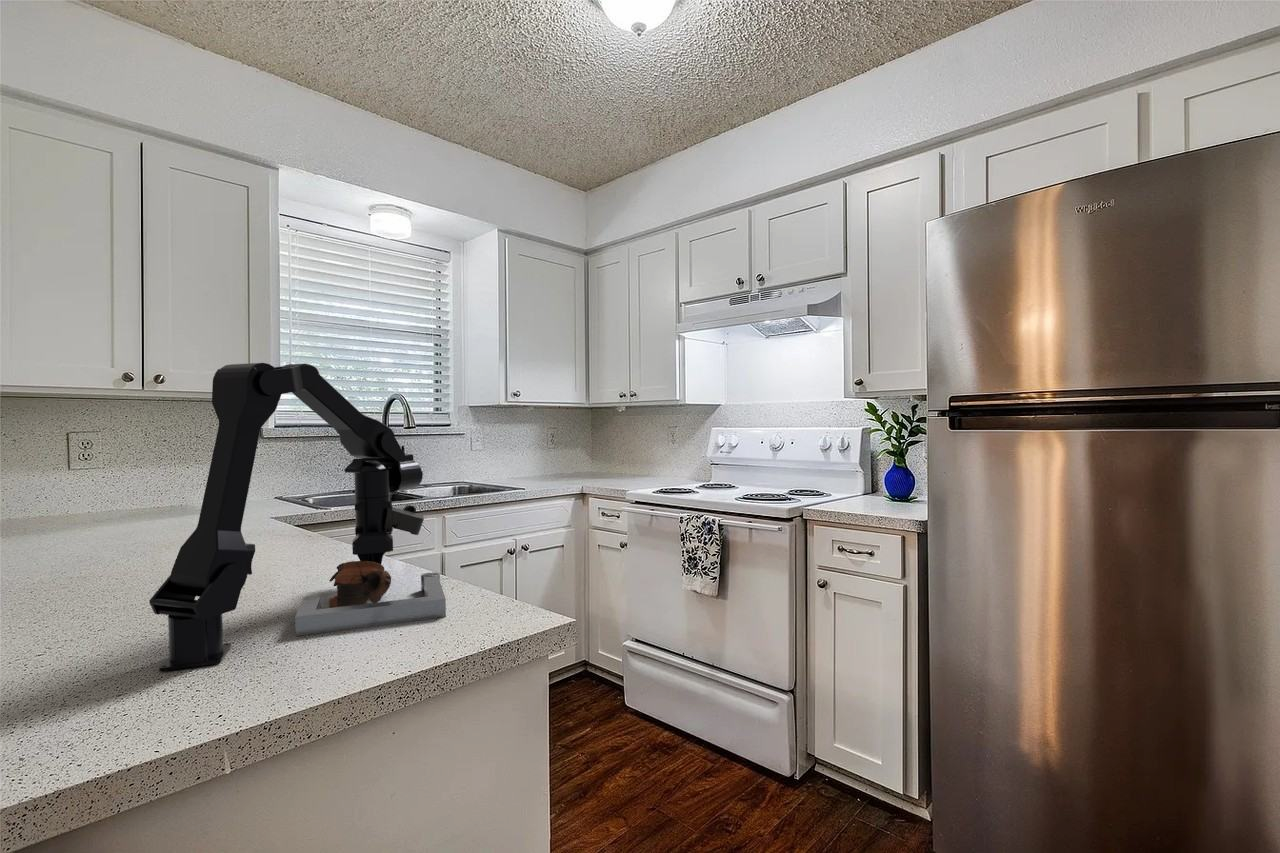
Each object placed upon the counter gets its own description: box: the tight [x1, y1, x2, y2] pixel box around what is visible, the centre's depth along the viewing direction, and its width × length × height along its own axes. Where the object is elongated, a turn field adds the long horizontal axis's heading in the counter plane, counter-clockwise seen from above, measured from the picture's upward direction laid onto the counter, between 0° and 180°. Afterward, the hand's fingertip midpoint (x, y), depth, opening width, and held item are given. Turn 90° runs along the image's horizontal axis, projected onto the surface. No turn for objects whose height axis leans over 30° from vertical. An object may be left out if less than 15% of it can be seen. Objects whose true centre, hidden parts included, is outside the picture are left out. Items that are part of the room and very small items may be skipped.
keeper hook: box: [294, 572, 447, 637], centre depth 101 cm, size 18×21×3 cm
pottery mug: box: [328, 560, 392, 608], centre depth 103 cm, size 12×10×8 cm
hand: (374, 582), depth 111 cm, fingers closed
